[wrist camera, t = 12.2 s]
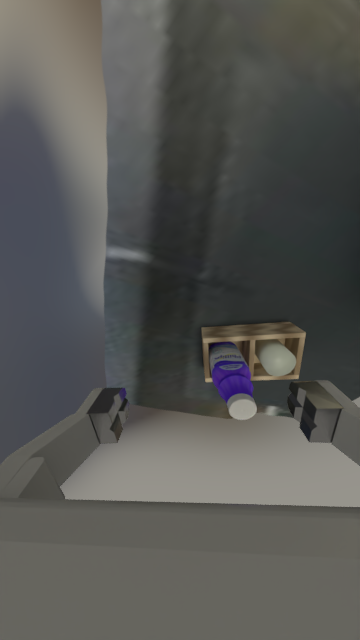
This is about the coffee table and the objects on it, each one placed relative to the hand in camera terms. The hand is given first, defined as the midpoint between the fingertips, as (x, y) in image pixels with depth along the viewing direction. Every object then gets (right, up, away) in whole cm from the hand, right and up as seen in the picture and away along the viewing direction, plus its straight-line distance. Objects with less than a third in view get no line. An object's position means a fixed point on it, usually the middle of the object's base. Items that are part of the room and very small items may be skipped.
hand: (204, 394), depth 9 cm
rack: (+14, -3, +33) cm, 36 cm away
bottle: (+9, -4, +33) cm, 35 cm away
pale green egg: (+19, -3, +32) cm, 37 cm away
